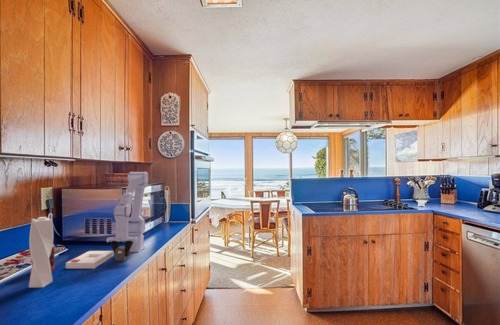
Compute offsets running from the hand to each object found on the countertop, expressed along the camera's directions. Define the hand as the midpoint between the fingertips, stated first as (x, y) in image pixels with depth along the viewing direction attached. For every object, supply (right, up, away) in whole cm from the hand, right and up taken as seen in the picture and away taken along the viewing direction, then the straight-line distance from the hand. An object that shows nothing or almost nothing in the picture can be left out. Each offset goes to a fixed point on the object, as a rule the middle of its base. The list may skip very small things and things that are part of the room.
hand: (121, 256), depth 135 cm
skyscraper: (-18, -1, -29) cm, 34 cm away
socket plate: (-14, -2, -3) cm, 14 cm away
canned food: (-28, -2, -15) cm, 32 cm away
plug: (0, -2, 0) cm, 2 cm away
